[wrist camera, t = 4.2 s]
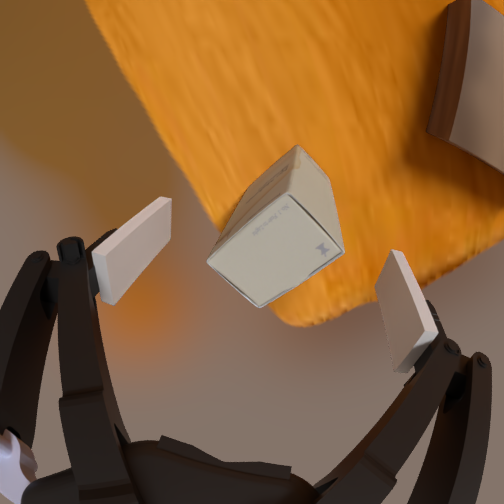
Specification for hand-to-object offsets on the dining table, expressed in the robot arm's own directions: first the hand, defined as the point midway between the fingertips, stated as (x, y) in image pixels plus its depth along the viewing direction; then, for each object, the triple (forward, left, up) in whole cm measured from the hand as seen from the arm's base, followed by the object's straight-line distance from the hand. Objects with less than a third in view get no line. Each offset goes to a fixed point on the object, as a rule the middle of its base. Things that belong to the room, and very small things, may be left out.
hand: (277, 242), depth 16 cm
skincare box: (0, 0, -10) cm, 10 cm away
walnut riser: (+18, +15, -11) cm, 26 cm away
